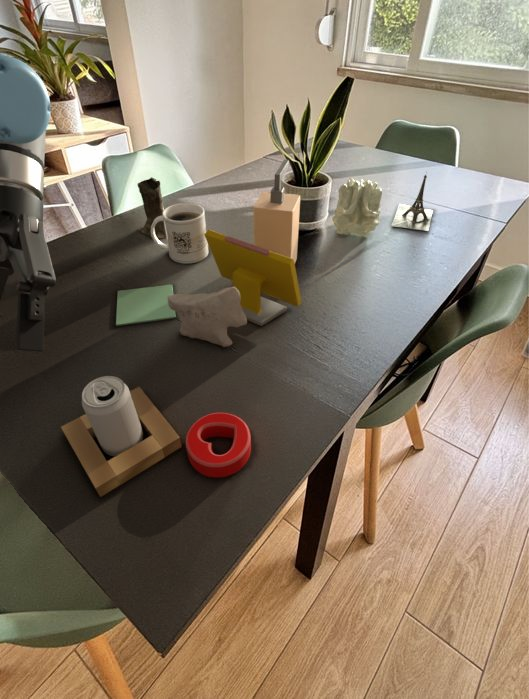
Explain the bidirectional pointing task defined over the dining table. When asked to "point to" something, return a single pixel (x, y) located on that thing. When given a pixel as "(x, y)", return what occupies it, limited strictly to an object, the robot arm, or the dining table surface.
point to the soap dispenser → (277, 218)
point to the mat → (144, 305)
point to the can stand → (129, 461)
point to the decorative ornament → (203, 452)
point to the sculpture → (209, 314)
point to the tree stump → (152, 206)
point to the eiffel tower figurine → (414, 214)
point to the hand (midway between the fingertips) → (5, 357)
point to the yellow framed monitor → (256, 276)
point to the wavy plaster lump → (358, 208)
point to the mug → (183, 232)
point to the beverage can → (112, 414)
